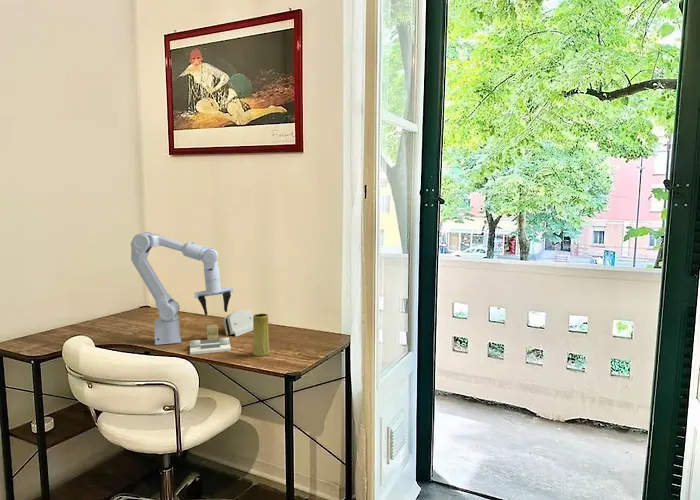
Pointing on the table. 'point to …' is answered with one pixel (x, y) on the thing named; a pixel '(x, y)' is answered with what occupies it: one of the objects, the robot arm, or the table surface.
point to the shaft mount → (209, 346)
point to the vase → (260, 335)
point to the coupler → (212, 332)
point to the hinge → (238, 322)
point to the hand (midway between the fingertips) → (216, 313)
